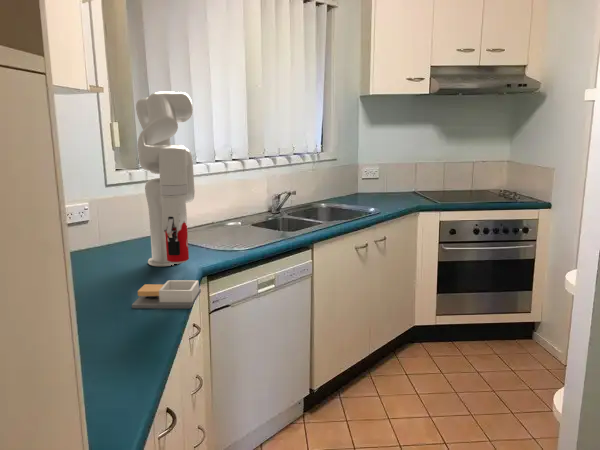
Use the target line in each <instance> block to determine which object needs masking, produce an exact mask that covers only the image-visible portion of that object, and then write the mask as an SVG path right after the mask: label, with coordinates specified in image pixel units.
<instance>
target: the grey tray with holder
mask: <svg viewBox="0 0 600 450" xmlns="http://www.w3.org/2000/svg"><path fill="white" fill-rule="evenodd" d="M201 292H202V290H201V288H200V285H199V280H190V279H189V280H187V279H184V280H182V279H181V280H180V279H179V280H178V279H175V280H174V279H173V280H172V279H171V280H170V279H169V280H166V281H165V283H164V285H163V287H162V288H161V289H160V290H159V296H156V297H148V296H138V298H137V299H135V301H134V302H133V303H132V304H131V309H187V310H188V309H190V310H191V308H192V307H193V305H194V304H195V302H196V301H197V298H198V297H199V296H200V294H201Z"/></svg>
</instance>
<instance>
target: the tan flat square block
mask: <svg viewBox="0 0 600 450" xmlns="http://www.w3.org/2000/svg"><path fill="white" fill-rule="evenodd" d="M164 284H165V283H164ZM164 284H159V283H158V284H157V283H156V284H150V283H148V284H146V283H145V284H144V285H143V286H141V287H140V288H139V289H138V290H137V296H138V297H140V296H148V297H156V296H159V290H160V289H161V288H162V287H163V285H164Z"/></svg>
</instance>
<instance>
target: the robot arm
mask: <svg viewBox="0 0 600 450" xmlns="http://www.w3.org/2000/svg"><path fill="white" fill-rule="evenodd" d="M193 106H194V105H193V101H192V99H191V97H190V95H189V94H188V93H186V92H182V91H180V92H179V91H178V92H175V91H157V92H154V93H151V94H150V95H148V97H142V98H140V99H138V100H137V101H136V104H135V110H136V116H137V119H138V121H139V123H140V126H141V128H142V131H141V132H140V133H139V136H138V137H137V138H138V139H137V154H138V160H139V165H140V166H141V168H142V169H143V170H144V171H147V172H149V173H151V174H154V175H159V177H156V178H151V179H149V180H147V181H146V183H145V185H144V191H145V197H146V201H147V207H148V216H149V230H150V231H149V232H150V248H151V257H149V258H148V260H147V264H148V265H149V266H152V267H161V268H162V267H171V265H172V266H175V265H174V264H173V263H170V262H168V261H167V251H166V235H165V232H166V231H167V235H168V236H167V237H168V253H169V255H180V241H178V236H179V231H180V230H181V228H182V224H183V222H184V221H185V223H186V225H188V224H187V223H188V222H187V220H188V217H187V215H188V213H187V203H191V202H193V200H194V199H195V192H196V190H195V177H194V162H193V161H194V160H193V155H192V153H191V151H190V149H188V148H187V147H186V146H185V145H182V144H171V138H172V137H174V136H175V135H176V134H177V132H178V129H179V125H178V123H184V122H187V121H188V120H189V119H191V118H192V116H193V112H194V111H193V110H194V109H193V108H194V107H193ZM167 226H168V227H167ZM176 227H177V229H176V230H173V228H176ZM173 233H176V237H175V234H173Z"/></svg>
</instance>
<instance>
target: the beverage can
mask: <svg viewBox="0 0 600 450" xmlns="http://www.w3.org/2000/svg"><path fill="white" fill-rule="evenodd" d="M167 227H168V226H167ZM176 229H177V227H176V228H173V230H176ZM173 234H175V237H176V233H173ZM165 235H166V251H167V261H168V262H170V263H173V264H177V265H181V264H184V263H186V262H188V261H189V259H190V256H189V255H190V253H189V237H188V236H189V235H188V224H186V223H185V221H184V222H183V224H182V228H181V230H180V231H179V236H178V241H180V255H169V253H168V237H167V236H168V235H167V231H166V232H165Z"/></svg>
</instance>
